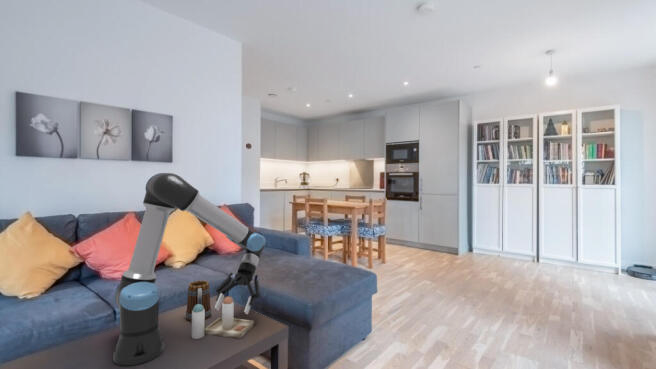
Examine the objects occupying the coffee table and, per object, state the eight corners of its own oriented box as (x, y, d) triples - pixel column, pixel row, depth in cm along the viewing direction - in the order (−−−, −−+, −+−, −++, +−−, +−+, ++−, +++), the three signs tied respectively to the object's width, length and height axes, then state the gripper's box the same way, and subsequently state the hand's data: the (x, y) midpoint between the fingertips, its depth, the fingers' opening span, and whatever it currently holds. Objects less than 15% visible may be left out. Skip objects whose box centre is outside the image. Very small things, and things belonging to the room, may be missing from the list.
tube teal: (189, 338, 121) (189, 306, 121) (196, 332, 125) (197, 301, 125) (199, 339, 120) (199, 307, 120) (206, 333, 124) (207, 302, 124)
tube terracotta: (219, 328, 127) (220, 298, 127) (225, 323, 131) (226, 294, 131) (229, 330, 126) (230, 299, 126) (235, 325, 130) (236, 295, 130)
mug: (185, 313, 142) (185, 281, 142) (210, 310, 147) (210, 278, 146) (185, 329, 128) (186, 292, 128) (213, 324, 132) (213, 289, 132)
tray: (203, 333, 124) (203, 329, 124) (220, 320, 136) (220, 316, 136) (240, 338, 121) (240, 334, 121) (254, 324, 132) (254, 320, 132)
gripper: (276, 271, 144) (261, 318, 130) (227, 267, 150) (208, 311, 135) (271, 263, 139) (255, 310, 124) (221, 259, 144) (200, 304, 130)
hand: (230, 311), depth 130 cm, fingers open, 13 cm apart
